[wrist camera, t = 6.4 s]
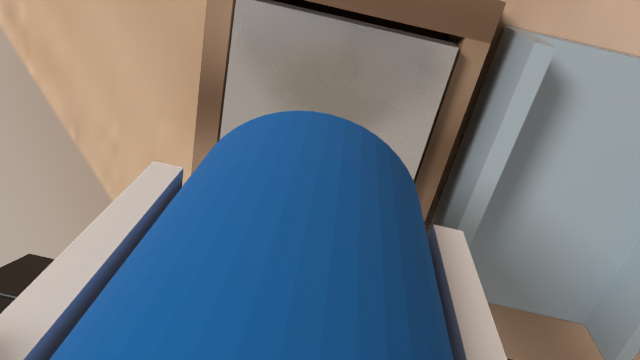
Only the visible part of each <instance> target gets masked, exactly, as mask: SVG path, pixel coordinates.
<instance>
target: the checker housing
mask: <svg viewBox="0 0 640 360" xmlns="http://www.w3.org/2000/svg"><path fill="white" fill-rule="evenodd" d="M306 1H310V2H314V3H318V4H323V5H327V6H331V7H336V8H340V9H344V10H348V11H353V12H357V13H361V14H366V15H370V16H374V17H378V18H383V19H387V20H391V21H396V22H400V23H404V24H409V25H413V26H417V27H421V28H426V29H430V30H434V31H439V32H443V33H447V34H450V35H449V38H448V42H453V43H455V44H456V45H457V47H458V48H459V49H458V52H457V55H456V58H455V61H454V63H453V66H452V69H451V72H450V75H449V78H448V81H447V84H446V87H445V90H444V93H443V96H442V99H441V102H440V104H439V107H438V110H437V113H436V116H435V119H434V122H433V125H432V128H431V131H430V134H429V137H428V140H427V143H426V146H425V148H424V151H423V154H422V157H421V160H420V163H419V166H418V169H417V172H416V175H415V178H414V183H415V186H416V189H417V193H418V196H419V200H420V205H421V210H422V214H423V219H424V222H425V220H426V217H427V214H428V211H429V209H430V206H431V203H432V201H433V198H434V195H435V193H436V190H437V187H438V185H439V182H440V179H441V176H442V174H443V171H444V168H445V166H446V163H447V160H448V158H449V155H450V152H451V149H452V147H453V144H454V141H455V139H456V136H457V133H458V131H459V128H460V125H461V123H462V120H463V117H464V114H465V112H466V109H467V106H468V104H469V101H470V98H471V96H472V93H473V90H474V87H475V85H476V82H477V79H478V77H479V74H480V71H481V69H482V66H483V63H484V60H485V58H486V55H487V52H488V50H489V47H490V44H491V42H492V39H493V36H494V34H495V31H496V28H497V25H498V23H499V20H500V17H501V15H502V12H503V9H504V7H505V4H506V3H505V2H503V1H500V0H306ZM235 4H236V0H207V7H206V18H205V29H204V40H203V51H202V62H201V73H200V85H199V96H198V107H197V118H196V129H195V140H194V151H193V162H192V173H191V175H192V174H193V172H194V171H195V170H196V168H197V167H198V166H199V164H200V163H201V162H202V161H203V159H204V158H205V157H206V155H207V154H208V153H209V151H210V150H211V149H212V148H213V146H214V145H215V144H216V143H217V142H218V141H219V140H220V132H221V124H222V115H223V107H224V98H225V90H226V81H227V72H228V64H229V55H230V47H231V38H232V30H233V21H234V13H235Z"/></svg>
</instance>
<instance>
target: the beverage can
mask: <svg viewBox="0 0 640 360" xmlns="http://www.w3.org/2000/svg"><path fill="white" fill-rule="evenodd" d="M49 360H454V359H453V354H452V350H451V345H450V340H449V336H448V331H447V326H446V322H445V317H444V312H443V308H442V303H441V298H440V294H439V289H438V284H437V280H436V275H435V270H434V266H433V261H432V256H431V252H430V247H429V242H428V238H427V233H426V228H425V224H424V219H423V214H422V210H421V205H420V200H419V196H418V193H417V189H416V186H415V183H414V181H413V179H412V177H411V175H410V173H409V171H408V169H407V167H406V166H405V165H404V163H403V162H402V160H401V159H400V158H399V156H398V155H397V154H396V153H395V152H394V151H393V150H392V149H391V148H390V146H389V145H388V144H386V143H385V142H384V141H383V140H381V139H380V138H379V137H378V136H377V135H375V134H374V133H372V132H371V131H369V130H367V129H366V128H364V127H363V126H361V125H359V124H356V123H354V122H352V121H350V120H348V119H345V118H342V117H339V116H335V115H332V114H328V113H322V112H317V111H303V110H293V111H281V112H276V113H271V114H267V115H263V116H260V117H257V118H255V119H252V120H249V121H247V122H245V123H243V124H242V125H240V126H238V127H236V128H234V129H233V130H232V131H230V132H229V133H227V134H226V135H225V136H223V137H222V138H221V139H220V140H219V141H218V142H217V143H216V144H215V145H214V146H213V148H212V149H211V150H210V151H209V153H208V154H207V155H206V157H205V158H204V159H203V161H202V162H201V163H200V164H199V166H198V167H197V168H196V170H195V171H194V172H193V174H192V175H191V176H190V177H189V179H188V180H187V181H186V183H185V184H184V185H183V187H182V188H181V189H180V190H179V192H178V193H177V194H176V196H175V197H174V198H173V199H172V201H171V202H170V203H169V205H168V206H167V207H166V209H165V210H164V211H163V212H162V214H161V215H160V216H159V218H158V219H157V220H156V222H155V223H154V224H153V225H152V227H151V228H150V229H149V231H148V232H147V233H146V235H145V236H144V237H143V238H142V240H141V241H140V242H139V244H138V245H137V246H136V248H135V249H134V250H133V251H132V253H131V254H130V255H129V257H128V258H127V259H126V261H125V262H124V263H123V264H122V266H121V267H120V268H119V270H118V271H117V272H116V274H115V275H114V276H113V277H112V279H111V280H110V281H109V283H108V284H107V285H106V287H105V288H104V289H103V290H102V292H101V293H100V294H99V296H98V297H97V298H96V300H95V301H94V302H93V303H92V305H91V306H90V307H89V309H88V310H87V311H86V313H85V314H84V315H83V316H82V318H81V319H80V320H79V322H78V323H77V324H76V325H75V327H74V328H73V329H72V331H71V332H70V333H69V335H68V336H67V337H66V338H65V340H64V341H63V342H62V344H61V345H60V346H59V348H58V349H57V350H56V351H55V353H54V354H53V355H52V357H51V358H50V359H49Z"/></svg>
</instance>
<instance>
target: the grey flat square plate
mask: <svg viewBox="0 0 640 360" xmlns="http://www.w3.org/2000/svg"><path fill="white" fill-rule="evenodd" d="M458 49H459V48H458V47H457V45H456V44H455V43H453V42H448V41H444V40H440V39H435V38H431V37H427V36H423V35H418V34H414V33H410V32H405V31H401V30H397V29H392V28H388V27H384V26H380V25H375V24H371V23H367V22H362V21H358V20H354V19H350V18H345V17H341V16H337V15H332V14H328V13H324V12H319V11H315V10H311V9H307V8H302V7H298V6H294V5H289V4H285V3H281V2H277V1H272V0H236V4H235V13H234V21H233V30H232V38H231V47H230V55H229V64H228V72H227V81H226V90H225V98H224V107H223V115H222V124H221V132H220V139H221V138H222V137H223V136H225V135H226V134H227V133H229V132H230V131H232V130H233V129H234V128H236V127H238V126H240V125H242V124H243V123H245V122H247V121H249V120H252V119H255V118H257V117H260V116H263V115H267V114H271V113H276V112H281V111H293V110H303V111H317V112H322V113H328V114H332V115H335V116H339V117H342V118H345V119H348V120H350V121H352V122H354V123H356V124H359V125H361V126H363V127H364V128H366V129H367V130H369V131H371V132H372V133H374V134H375V135H377V136H378V137H379V138H380V139H381V140H383V141H384V142H385V143H386V144H388V145H389V146H390V148H391V149H392V150H393V151H394V152H395V153H396V154H397V155H398V156H399V158H400V159H401V160H402V162H403V163H404V165H405V166H406V167H407V169H408V171H409V173H410V175H411V177H412V179H413V181H414V178H415V175H416V172H417V169H418V166H419V163H420V160H421V157H422V154H423V151H424V148H425V146H426V143H427V140H428V137H429V134H430V131H431V128H432V125H433V122H434V119H435V116H436V113H437V110H438V107H439V104H440V102H441V99H442V96H443V93H444V90H445V87H446V84H447V81H448V78H449V75H450V72H451V69H452V66H453V63H454V61H455V58H456V55H457V52H458Z"/></svg>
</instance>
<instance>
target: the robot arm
mask: <svg viewBox="0 0 640 360" xmlns="http://www.w3.org/2000/svg"><path fill="white" fill-rule="evenodd" d="M182 178H183V167H178V166H174V165H169V164H165V163H161V162H156V161H153V162H152V163H151V164H150V165H149V166H148V167H147V168H146V169H145V170H144V171H143V172H142V173H141V174H140V175H139V176H138V177H137V178H136V179H135V180H134V181H133V182H132V183H131V184H130V185H129V186H128V187H127V188H126V189H125V190H124V191H123V192H122V193H121V194H120V195H119V196H118V197H117V198H116V199H115V200H114V201H113V202H112V203H111V204H110V205H109V206H108V207H107V208H106V209H105V210H104V211H103V212H102V213H101V214H100V215H99V216H98V217H97V218H96V219H95V220H94V221H93V222H92V223H91V224H90V225H89V226H88V227H87V228H86V229H85V230H84V231H83V232H82V233H81V234H80V235H79V236H78V237H77V238H76V239H75V240H74V241H73V242H72V243H71V244H70V245H69V246H68V247H67V248H66V249H65V250H64V251H63V252H62V253H61V254H60V255H59V256H58V257H57V258H56V259H50V258H46V257H41V256H37V255H32V254H28V255H26V256H24V257H22V258H20V259H18V260H16V261H13V262H11V263H9V264H7V265H5V266H3V267H1V268H0V360H49V359H50V358H51V357H52V355H53V354H54V353H55V351H56V350H57V349H58V348H59V346H60V345H61V344H62V342H63V341H64V340H65V338H66V337H67V336H68V335H69V333H70V332H71V331H72V329H73V328H74V327H75V325H76V324H77V323H78V322H79V320H80V319H81V318H82V316H83V315H84V314H85V313H86V311H87V310H88V309H89V307H90V306H91V305H92V303H93V302H94V301H95V300H96V298H97V297H98V296H99V294H100V293H101V292H102V290H103V289H104V288H105V287H106V285H107V284H108V283H109V281H110V280H111V279H112V277H113V276H114V275H115V274H116V272H117V271H118V270H119V268H120V267H121V266H122V264H123V263H124V262H125V261H126V259H127V258H128V257H129V255H130V254H131V253H132V251H133V250H134V249H135V248H136V246H137V245H138V244H139V242H140V241H141V240H142V238H143V237H144V236H145V235H146V233H147V232H148V231H149V229H150V228H151V227H152V225H153V224H154V223H155V222H156V220H157V219H158V218H159V216H160V215H161V214H162V212H163V211H164V210H165V209H166V207H167V206H168V205H169V203H170V202H171V201H172V199H173V198H174V197H175V196H176V194H177V193H178V192H179V190H180V189H181V188H182ZM428 242H429V247H430V252H431V256H432V261H433V266H434V270H435V275H436V280H437V284H438V289H439V294H440V298H441V303H442V308H443V312H444V317H445V322H446V326H447V331H448V336H449V340H450V345H451V350H452V354H453V359H454V360H511V359H507V358H506V355H505V352H504V349H503V346H502V343H501V340H500V337H499V335H498V332H497V329H496V326H495V323H494V320H493V317H492V314H491V311H490V308H489V306H488V303H487V300H486V297H485V294H484V291H483V288H482V285H481V282H480V279H479V277H478V274H477V271H476V268H475V265H474V262H473V259H472V256H471V253H470V250H469V248H468V245H467V242H466V239H465V236H464V233H463V231H460V230H456V229H452V228H447V227H443V226H438V225H434V224H433V227H432V230H431V232H430V235H429V238H428Z"/></svg>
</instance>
